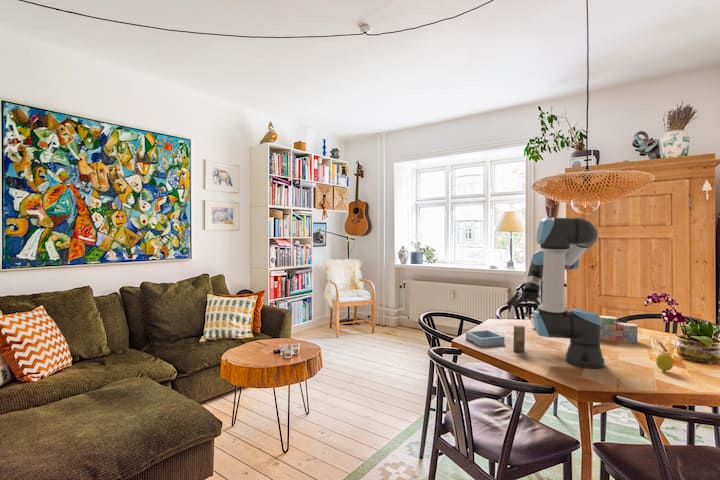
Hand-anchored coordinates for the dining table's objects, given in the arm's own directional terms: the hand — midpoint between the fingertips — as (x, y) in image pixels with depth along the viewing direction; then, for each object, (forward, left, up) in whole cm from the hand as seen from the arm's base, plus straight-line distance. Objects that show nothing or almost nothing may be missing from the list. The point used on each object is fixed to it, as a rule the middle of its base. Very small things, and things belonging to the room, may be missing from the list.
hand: (523, 319), depth 194 cm
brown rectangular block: (-6, +7, -14) cm, 17 cm away
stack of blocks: (-3, -55, -14) cm, 57 cm away
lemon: (-46, -33, -14) cm, 58 cm away
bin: (+12, +14, -14) cm, 23 cm away
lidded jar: (+27, -35, -14) cm, 46 cm away
